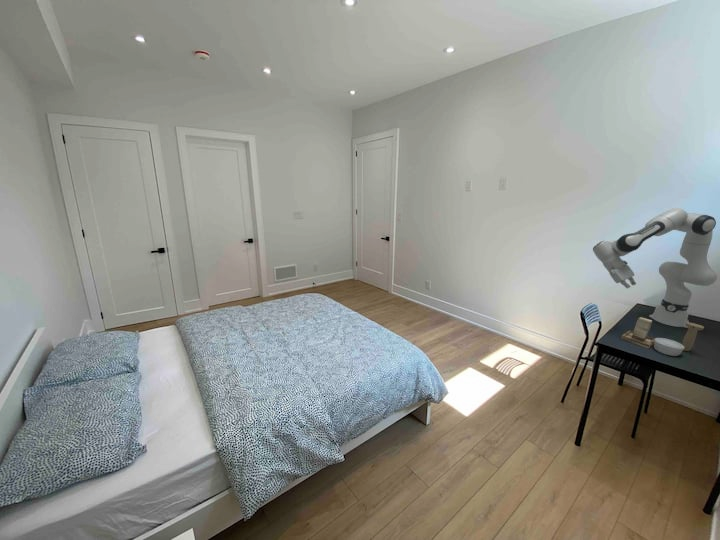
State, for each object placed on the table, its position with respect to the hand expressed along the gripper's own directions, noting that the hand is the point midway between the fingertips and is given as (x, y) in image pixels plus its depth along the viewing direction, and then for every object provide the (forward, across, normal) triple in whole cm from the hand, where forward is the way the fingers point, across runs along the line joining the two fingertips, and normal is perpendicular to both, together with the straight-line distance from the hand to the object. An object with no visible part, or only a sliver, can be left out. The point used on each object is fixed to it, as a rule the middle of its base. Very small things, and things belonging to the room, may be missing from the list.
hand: (631, 286), depth 170 cm
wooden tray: (+28, -6, +13) cm, 31 cm away
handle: (+40, +4, +1) cm, 40 cm away
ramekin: (+36, -7, +4) cm, 37 cm away
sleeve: (+27, -6, +12) cm, 30 cm away
